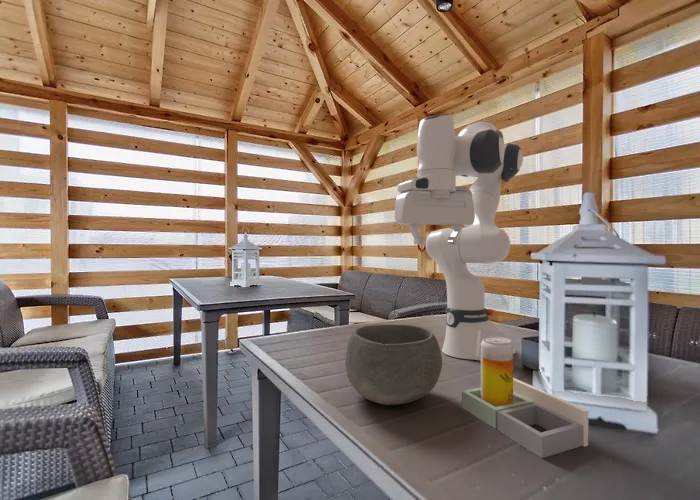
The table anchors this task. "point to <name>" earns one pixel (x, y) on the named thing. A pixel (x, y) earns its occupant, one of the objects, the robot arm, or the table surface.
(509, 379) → the beer can
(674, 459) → the table surface
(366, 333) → the bowl
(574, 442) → the holder board
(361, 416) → the table surface
